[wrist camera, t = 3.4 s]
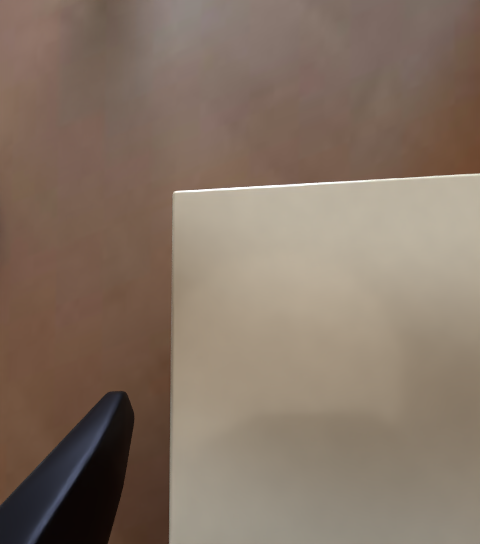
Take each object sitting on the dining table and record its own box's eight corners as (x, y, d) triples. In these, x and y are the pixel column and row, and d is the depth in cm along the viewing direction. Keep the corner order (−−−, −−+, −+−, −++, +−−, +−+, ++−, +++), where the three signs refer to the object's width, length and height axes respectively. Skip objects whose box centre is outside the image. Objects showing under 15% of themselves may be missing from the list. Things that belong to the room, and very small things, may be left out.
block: (347, 402, 17) (586, 563, 4) (243, 404, 17) (167, 558, 4) (339, 299, 18) (512, 169, 5) (241, 302, 18) (171, 189, 5)
